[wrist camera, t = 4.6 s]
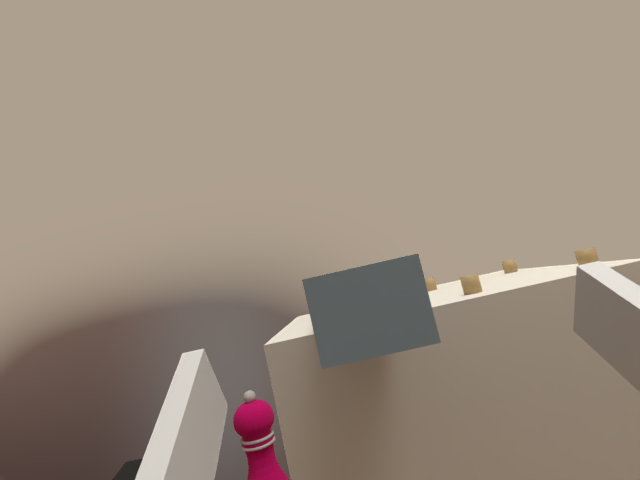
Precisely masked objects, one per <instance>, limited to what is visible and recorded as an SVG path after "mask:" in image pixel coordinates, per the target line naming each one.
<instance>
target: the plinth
mask: <svg viewBox="0 0 640 480" xmlns="http://www.w3.org/2000/svg"><path fill="white" fill-rule="evenodd" d="M575 255H576V259H577V262H578V264H572V265H560V266H549V267H537V268H525V269H517V266H516V262H515V259H512V260H507V261H503V262H502V265H503V269H504V270H503V271H497V272H493V273H488V274H484V275H480V276H478V274H474V275H469V276H464V277H460V280H458V281H453V282H449V283H444V284H440V285H436V283H435V279H434V277H432V278H427V279H425V282H426V286H427V290H428V294H429V298H430V302H431V306H432V310H433V314H434V318H435V322H436V325H437V329H438V333H439V337H440V341H441V343H437V344H433V345H428V346H424V347H419V348H415V349H411V350H406V351H402V352H397V353H393V354H388V355H384V356H379V357H375V358H370V359H366V360H361V361H357V362H352V363H348V364H344V365H339V366H335V367H330V368H326V369H322V368H321V363H320V359H319V354H318V350H317V345H316V340H315V336H314V331H313V327H312V322H311V318H310V314H307V315H302V316H298V317H297V318H296V319H294V320H293V321H292V322H291V323H290V324H289V325H287V326H286V327H285V328H284V329H283V330H281V331H280V332H279V333H278V334H277V335H276V336H274V337H273V338H272V339H271V340H269V341H268V342H267V343H266V344H265V345H264V349H265V354H266V359H267V363H268V369H269V373H270V379H271V383H272V388H273V393H274V398H275V403H276V407H277V413H278V418H279V423H280V428H281V432H282V438H283V443H284V448H285V452H286V457H287V462H288V467H289V472H290V477H291V480H640V392H639V391H638V390H637V389H636V388H635V387H634V386H633V385H631V384H630V383H629V382H628V381H627V380H626V379H625V378H624V377H623V376H622V375H621V374H620V373H618V372H617V371H616V370H615V369H614V368H613V367H612V366H611V365H610V364H609V363H608V362H607V361H606V360H604V359H603V358H602V357H601V356H600V355H599V354H598V353H597V352H596V351H595V350H594V349H593V348H591V347H590V346H589V345H588V344H587V343H586V342H585V341H584V340H583V339H582V338H581V337H580V336H578V335H577V334H576V333H575V332H574V331H573V323H574V305H575V288H576V270H577V266H578V265H583V264H587V263H592V262H596V261H599V259H598V256H597V252H596V249H595V248H589V249H584V250H579V251H575ZM602 263H603V264H605V265H606V266H608V267H610V268H611V269H613V270H614V271H616V272H618V273H619V274H621V275H622V276H624V277H626V278H627V279H629V280H630V281H632V282H634V283H635V284H637V285H639V286H640V259H630V260H618V261H607V262H602Z"/></svg>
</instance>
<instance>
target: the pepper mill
mask: <svg viewBox="0 0 640 480" xmlns="http://www.w3.org/2000/svg"><path fill="white" fill-rule="evenodd" d="M244 401H245V402H246V403H244V404H242V405H241V406H240V407H239V408H238V409H237V410H236V412H235V415H234V422H233V423H234V428H235V430H236V432H237V433H238V434H239V435H240V436H242V439H241V444H242V450H243V451H245V452H246V455H247V458H248V465H249V470H248V471H249V472H248V480H289V479H288V477H287V476H286V474H285V473H284V472H283V470H282V469H281V468H280V466H279V464H278V462H277V460H276V457H275V453H274V448H273V442H274V441H275V437H274V431H273V430H272V429H271V426H272V424H273V422H274V413H273V410H272V408H271V406H270V405H269V404H268V403H267V402H265V401H263V400H255V393H254V392H253V391H247V392H246V393H245V394H244Z"/></svg>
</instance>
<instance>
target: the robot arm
mask: <svg viewBox="0 0 640 480" xmlns="http://www.w3.org/2000/svg"><path fill="white" fill-rule="evenodd" d="M573 331H574V332H575V333H576V334H577V335H578V336H580V337H581V338H582V339H583V340H584V341H585V342H586V343H587V344H588V345H589V346H590V347H591V348H593V349H594V350H595V351H596V352H597V353H598V354H599V355H600V356H601V357H602V358H603V359H604V360H606V361H607V362H608V363H609V364H610V365H611V366H612V367H613V368H614V369H615V370H616V371H617V372H618V373H620V374H621V375H622V376H623V377H624V378H625V379H626V380H627V381H628V382H629V383H630V384H631V385H633V386H634V387H635V388H636V389H637V390H638V391H639V392H640V286H639V285H637V284H635V283H634V282H632V281H630V280H629V279H627V278H626V277H624V276H622V275H621V274H619V273H618V272H616V271H614V270H613V269H611V268H610V267H608V266H606V265H605V264H603V263H602V262H600V261H596V262H592V263H587V264H583V265H578V266H577V270H576V288H575V305H574V323H573ZM227 408H228V405H227V403H226V400H225V398H224V396H223V393H222V391H221V388H220V386H219V384H218V381H217V379H216V377H215V374H214V372H213V369H212V367H211V365H210V362H209V360H208V357H207V355H206V353H205V350H204V349H200V350H196V351H191V352H187V353H183V354H182V356H181V359H180V362H179V364H178V367H177V370H176V372H175V375H174V377H173V380H172V383H171V385H170V388H169V391H168V393H167V396H166V399H165V401H164V404H163V407H162V409H161V412H160V415H159V417H158V420H157V423H156V425H155V428H154V431H153V433H152V436H151V438H150V441H149V444H148V446H147V449H146V452H145V455H144V457H143V459H138V460H134V461H129V462H126V463H125V464H124V465H123V467H122V468H121V470H120V471H119V472H118V473H117V475H116V476H115V477H114V479H113V480H214V478H215V473H216V468H217V463H218V457H219V452H220V446H221V441H222V435H223V430H224V424H225V418H226V414H227Z"/></svg>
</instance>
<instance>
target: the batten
mask: <svg viewBox="0 0 640 480" xmlns="http://www.w3.org/2000/svg"><path fill="white" fill-rule="evenodd" d="M302 281H303V286H304V290H305V294H306V299H307V304H308V308H309V313H310V318H311V322H312V327H313V331H314V336H315V340H316V345H317V350H318V354H319V359H320V363H321V368H322V369H326V368H330V367H335V366H339V365H344V364H348V363H352V362H357V361H361V360H366V359H370V358H375V357H379V356H384V355H388V354H393V353H397V352H402V351H406V350H411V349H415V348H419V347H424V346H428V345H433V344H437V343H441V341H440V337H439V333H438V329H437V325H436V322H435V318H434V314H433V310H432V306H431V302H430V298H429V294H428V290H427V286H426V282H425V278H424V275H423V271H422V267H421V263H420V259H419V255H418V254H414V255H410V256H405V257H401V258H397V259H392V260H388V261H383V262H379V263H375V264H370V265H366V266H361V267H357V268H352V269H348V270H344V271H339V272H335V273H330V274H326V275H322V276H317V277H313V278H308V279H304V280H302Z"/></svg>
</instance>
